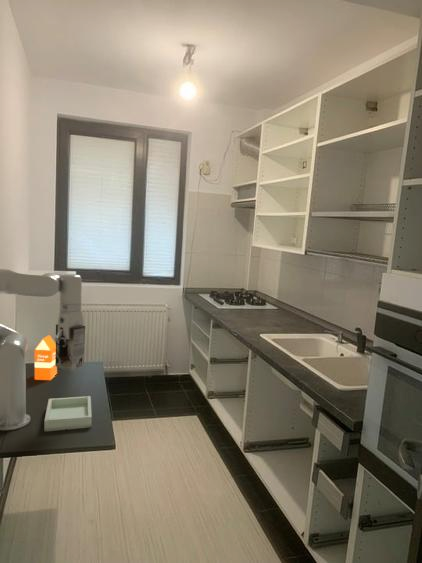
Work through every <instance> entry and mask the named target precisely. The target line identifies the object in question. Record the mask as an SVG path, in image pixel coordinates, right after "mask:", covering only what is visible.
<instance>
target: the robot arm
mask: <svg viewBox="0 0 422 563" xmlns="http://www.w3.org/2000/svg"><path fill="white" fill-rule="evenodd" d="M82 281H83V280H82V277H81V275H80V274H75V273H74V274H72V273H71V274H60V273H51V272H48V273H44V274H42V275H40V274H27V273H21V272H20V273H19V272H16V271H13V270H10V269H6V268H5V269H4V268H0V294H7V295H12V296H13V295H15V296H25V297H41V298H44V297H45V298H46V297H48V298H49V297H53V296H55V295H56V294H57V293H59V315H58V321H57V324H58V333H57V335H56V334H55V337H54V341H55V343H56V342H57V344H58V346H59V356H60V357H67V346H66V345H67V339H68V340H70V328H72V327H74V326H79V325H83V326H85V325H84V315H83V310H82V286H83V284H82V283H83V282H82ZM63 336H64V337H65V338H63ZM63 340H65V341H64V342H63ZM28 345H29V343H28V339H27V337H25V335H24V334H22V333H20V332H18V331H16V330H14V329H12V328H10V327H8V326H6V325H4V324H1V323H0V431H13V430H17V429H21V428H23V427H26V426H27V425H28V424H29V423H30V422H31V416H30V414H27V413H26V412H27V411H26V409H27V408H26V407H27V404H26V403H27V400H26V399H27V396H26V395H27V394H26V391H27V390H26V387H27V379H26V368H27V367H26V354H27V350H28Z"/></svg>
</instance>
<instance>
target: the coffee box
mask: <svg viewBox="0 0 422 563" xmlns="http://www.w3.org/2000/svg"><path fill="white" fill-rule="evenodd" d="M57 333H58V323H57V324H55V336H56V335H57ZM63 338H65V337H64V336H63ZM64 341H65V340H63V342H64ZM85 342H86V326H85V325H84V326H83V325H79V326H74V327H72V328H70V340H68V339H67V345H66V346H67V357H60V356H59V346H58V344H57V342H56V341H55V344H56V357H55V366H56V367H57V368H61V369H63V370H67V371H71V372H73V371H76V370H79V369H82V368H84V367H85V349H86V348H85V346H86V345H85V344H86V343H85Z"/></svg>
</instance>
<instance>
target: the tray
mask: <svg viewBox="0 0 422 563" xmlns="http://www.w3.org/2000/svg"><path fill="white" fill-rule="evenodd" d="M92 417H93V416H92V398H91V395H88V396H87V395H86V396H72V397H59V398H57V397H56V398H48V402H47V405H46V412H45V417H44V422H43V423H44V428H43V430H44V432H53V431H64V430H66V429H67V430H74V429H75V430H76V429H86V428H92V421H93V420H92V419H93V418H92Z"/></svg>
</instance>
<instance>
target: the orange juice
mask: <svg viewBox="0 0 422 563" xmlns="http://www.w3.org/2000/svg"><path fill="white" fill-rule="evenodd" d="M55 357H56V341H55V340H54V339H53V338H52V336H51V335H50V334H49V335H48V334H47V336H45V337H44V338H42V339H41V341H40V342H39V344H37V346H36V348H35V349H34V380H35V381H36V380H37V381H51V380H53V378H55V377H56V376H57V375H58V367H56V366H55ZM56 374H57V375H56ZM55 375H56V376H55Z"/></svg>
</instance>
